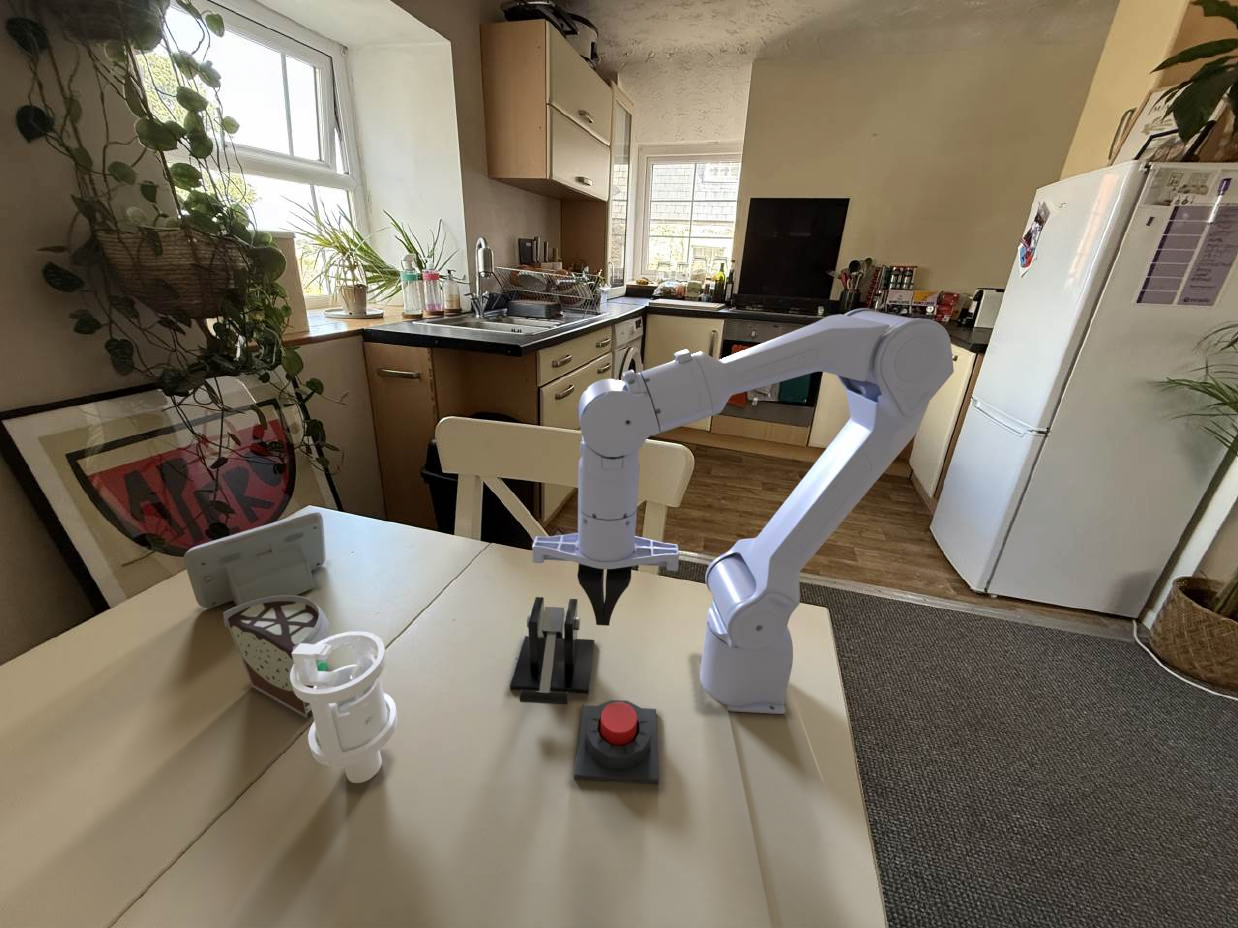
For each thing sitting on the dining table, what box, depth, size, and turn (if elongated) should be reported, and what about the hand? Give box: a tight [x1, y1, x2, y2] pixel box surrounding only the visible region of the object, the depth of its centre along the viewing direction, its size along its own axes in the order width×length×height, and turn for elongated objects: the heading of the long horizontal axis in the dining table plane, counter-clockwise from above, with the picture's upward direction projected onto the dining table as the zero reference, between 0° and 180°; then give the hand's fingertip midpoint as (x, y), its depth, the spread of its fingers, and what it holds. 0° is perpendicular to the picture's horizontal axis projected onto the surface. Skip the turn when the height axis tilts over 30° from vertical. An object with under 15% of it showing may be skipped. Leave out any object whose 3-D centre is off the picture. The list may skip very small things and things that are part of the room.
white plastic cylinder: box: [290, 630, 398, 784], centre depth 44 cm, size 7×7×15 cm
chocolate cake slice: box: [222, 595, 330, 719], centre depth 55 cm, size 12×6×10 cm, turn 65°
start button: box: [601, 702, 637, 746], centre depth 49 cm, size 4×4×2 cm
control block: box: [573, 699, 660, 785], centre depth 50 cm, size 8×8×3 cm
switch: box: [519, 606, 569, 706], centre depth 55 cm, size 10×5×2 cm
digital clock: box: [183, 511, 327, 609], centre depth 69 cm, size 16×9×11 cm, turn 127°
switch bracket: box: [509, 596, 595, 695], centre depth 58 cm, size 8×9×9 cm
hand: (603, 619), depth 53 cm, fingers closed
